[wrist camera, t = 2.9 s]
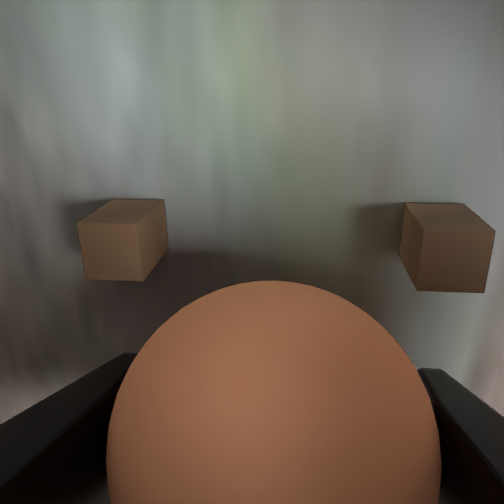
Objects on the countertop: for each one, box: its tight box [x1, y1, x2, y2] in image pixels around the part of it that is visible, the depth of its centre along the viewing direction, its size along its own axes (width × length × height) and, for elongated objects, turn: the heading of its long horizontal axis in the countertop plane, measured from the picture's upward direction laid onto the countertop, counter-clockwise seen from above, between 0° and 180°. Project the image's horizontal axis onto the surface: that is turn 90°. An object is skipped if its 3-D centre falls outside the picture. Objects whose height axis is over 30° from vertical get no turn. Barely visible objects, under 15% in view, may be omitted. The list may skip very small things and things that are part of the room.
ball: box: [106, 281, 442, 504], centre depth 7 cm, size 5×5×5 cm
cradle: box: [77, 199, 496, 293], centre depth 9 cm, size 6×6×2 cm
